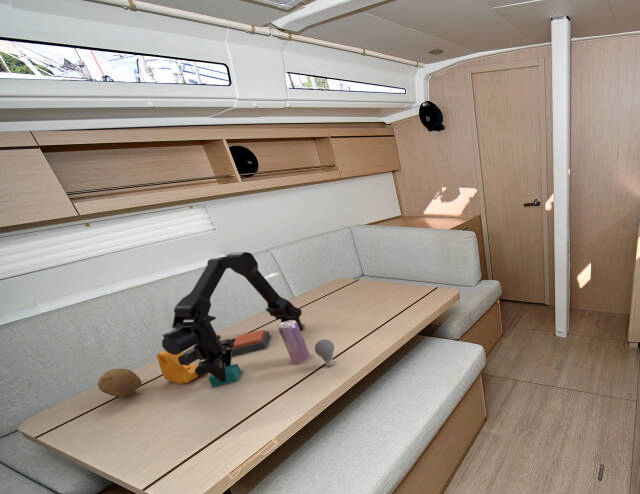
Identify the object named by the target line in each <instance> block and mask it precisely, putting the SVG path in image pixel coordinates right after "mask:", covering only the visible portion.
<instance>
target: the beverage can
mask: <svg viewBox="0 0 640 494" xmlns="http://www.w3.org/2000/svg"><path fill="white" fill-rule="evenodd" d="M277 327H278V331H279V334H280V336H281V338H282V341H283V344H284V346H285V349H286V351H287V353H288V356H289V358H290V360H291V362H292V363H293V364H302V363H304V362H307V361H308V360H309V359H310V358H311V357H310V356H311V354H310V352H309V350H308V347H307V344H306V341H305V338H304V336H303V334H302V331H300V328H299V326H298V323H297V322H296V321H295V320H289V321H285V322H283V323H281V322H280V323H279V324H278V325H277Z"/></svg>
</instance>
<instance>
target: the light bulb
mask: <svg viewBox="0 0 640 494" xmlns="http://www.w3.org/2000/svg"><path fill="white" fill-rule="evenodd" d="M334 350H335V345H334V343H333V342H332V340H330V339H320V340H319V341H317V342H316V343H315V345H314V352H315V354H316V355H317V356H318V357H319V358H321V359H322V360H323V361H324V363H325V366H326V367H330V366H332V365H334V364H335V361H334V355H333V354H334Z"/></svg>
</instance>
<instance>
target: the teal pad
mask: <svg viewBox="0 0 640 494" xmlns="http://www.w3.org/2000/svg"><path fill="white" fill-rule="evenodd" d="M225 369H226V381H225V382H221V381H220V380H218V379H217V378H216V377H215V376H213V375H212V374H209V377H208V381H209V383H210V384H211V386H212V388H214V387H218V386H222V385H226V384H230V383H234V382H237V381H239V378H240V376H241V374H242V370H241V367H240V366H239V364H238V363H234V364H231V365H230V366H226V367H225Z"/></svg>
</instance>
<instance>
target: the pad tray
mask: <svg viewBox="0 0 640 494" xmlns="http://www.w3.org/2000/svg"><path fill="white" fill-rule="evenodd" d="M270 337H271V334H270V332H269V330H265V334H264V337H263V339H262V342H260V343H256V344H252V345H248V346H244V347H239V348H235V349H233V348H229V347H228V346H227V347H226V348H227V350H229V349H233V351H232V357H235V356H240V355H242V354H243V355H244V354H247V353H251V352H255V351H260V350H264V349H267V346H268V343H269V340H270ZM236 338H237V337H234V338H229V339H230V340H232V341H233V343H234V342H235V340H236ZM206 360H207V359H204V361H206Z"/></svg>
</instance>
